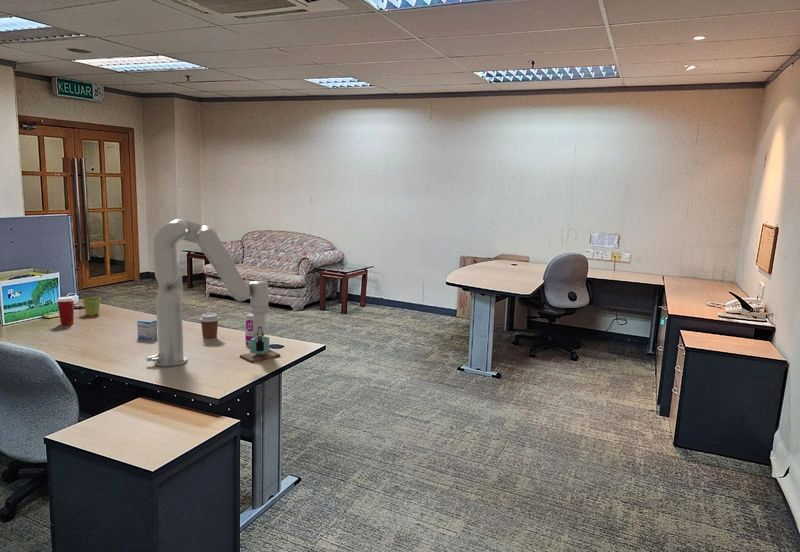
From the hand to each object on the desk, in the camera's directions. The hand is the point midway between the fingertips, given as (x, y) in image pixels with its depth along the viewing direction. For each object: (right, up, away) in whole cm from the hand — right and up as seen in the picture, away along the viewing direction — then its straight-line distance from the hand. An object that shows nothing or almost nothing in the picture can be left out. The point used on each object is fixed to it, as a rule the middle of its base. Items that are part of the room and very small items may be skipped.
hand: (259, 347), depth 235 cm
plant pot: (-112, +10, +66) cm, 130 cm away
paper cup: (-112, +6, +44) cm, 121 cm away
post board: (0, -4, +1) cm, 4 cm away
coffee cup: (-31, +1, +26) cm, 40 cm away
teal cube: (0, -2, 0) cm, 2 cm away
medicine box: (-61, +1, +24) cm, 65 cm away
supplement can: (-7, -1, +17) cm, 19 cm away
